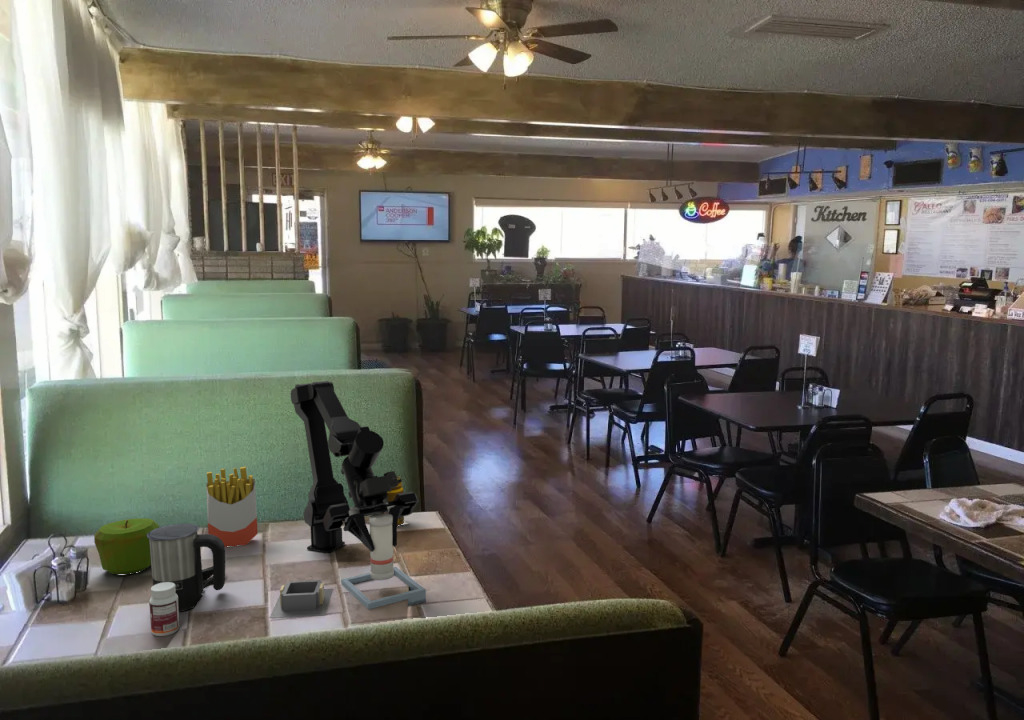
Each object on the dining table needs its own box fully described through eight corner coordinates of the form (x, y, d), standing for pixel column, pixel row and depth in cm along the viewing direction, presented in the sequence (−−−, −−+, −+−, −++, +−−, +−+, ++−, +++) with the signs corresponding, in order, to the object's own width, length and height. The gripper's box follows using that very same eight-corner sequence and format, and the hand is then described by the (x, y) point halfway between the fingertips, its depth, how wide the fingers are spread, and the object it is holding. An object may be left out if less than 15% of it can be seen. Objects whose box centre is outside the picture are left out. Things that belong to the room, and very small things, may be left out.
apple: (156, 555, 177) (153, 507, 175) (165, 572, 166) (162, 521, 165) (94, 567, 170) (90, 517, 168) (100, 585, 160) (96, 533, 158)
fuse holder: (282, 598, 153) (281, 575, 152) (333, 595, 154) (332, 573, 153) (269, 625, 141) (268, 601, 140) (325, 622, 142) (324, 598, 141)
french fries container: (258, 544, 183) (254, 470, 181) (209, 549, 180) (205, 474, 178) (257, 537, 188) (254, 465, 185) (209, 543, 184) (205, 469, 182)
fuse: (366, 574, 154) (365, 516, 152) (388, 569, 156) (386, 511, 155) (376, 582, 150) (374, 522, 148) (397, 576, 152) (396, 518, 151)
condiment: (410, 524, 197) (409, 478, 195) (379, 531, 192) (378, 484, 191) (398, 517, 203) (396, 472, 202) (367, 523, 198) (366, 477, 197)
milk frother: (152, 618, 144) (147, 542, 143) (149, 587, 159) (145, 517, 157) (232, 603, 151) (228, 530, 149) (223, 575, 165) (219, 507, 163)
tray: (341, 591, 156) (341, 579, 156) (395, 577, 163) (395, 566, 162) (368, 616, 144) (368, 604, 144) (425, 601, 151) (425, 589, 151)
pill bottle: (156, 625, 142) (154, 581, 141) (183, 624, 142) (181, 580, 141) (146, 637, 137) (144, 592, 136) (174, 636, 137) (171, 591, 136)
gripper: (326, 466, 149) (348, 537, 141) (413, 453, 159) (439, 519, 151) (313, 495, 156) (334, 565, 148) (398, 481, 166) (422, 546, 158)
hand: (384, 548), depth 151 cm, fingers closed on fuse, 4 cm apart
